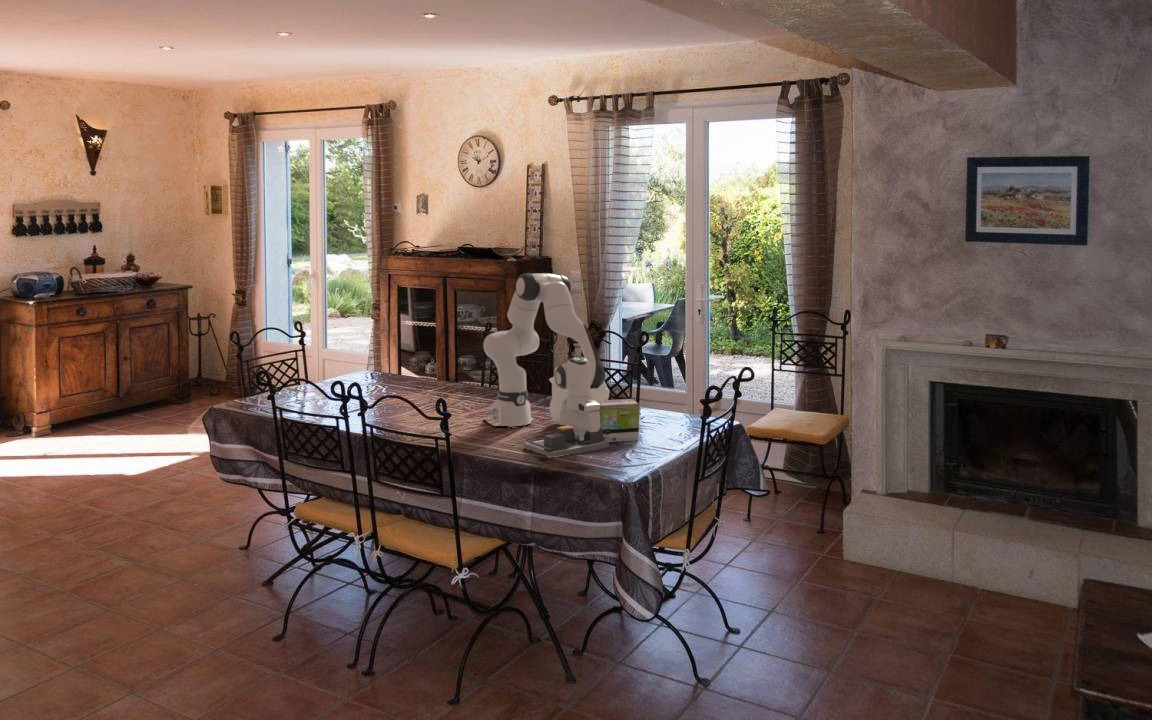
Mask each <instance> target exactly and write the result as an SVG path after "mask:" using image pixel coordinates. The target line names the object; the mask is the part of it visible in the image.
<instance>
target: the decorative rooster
mask: <svg viewBox="0 0 1152 720" xmlns="http://www.w3.org/2000/svg"><path fill="white" fill-rule="evenodd" d="M558 367H559V366H556V367H555V368H554V375H553V376H552V377H550V378H549V379H548V380H549V382H550V383H551V395H552V396H551V400H550V403H549V415H550V417H551V419H552V420H553V422H554V423H555V424H557V425H558V426H567V425H566V424H562V423H561V421H560V411H561V406H562V402H563V400H564V399H567V391H568V390H565V389H561V388H560V387H559V386H558V385H557V384H556V381H555V371H556V369H557V368H558ZM605 381H606V380H605ZM605 381H604V382H603V384H602V385H601V386H600V387H599V388H597V389H590V391H591V397H592V398H593V399H594V400H595V401H605V400H609V397H610V389H609V388H608V387H607V384H606V382H605Z"/></svg>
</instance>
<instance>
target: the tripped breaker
mask: <svg viewBox="0 0 1152 720" xmlns="http://www.w3.org/2000/svg"><path fill="white" fill-rule="evenodd" d="M554 430H555V434H556V433H559V434H562V435H565V436H566V443H569V444H571V445H573V444H578V443H582V442H579V441H577V439H575V433H574V430H573V427H572V426H569V425H561V426H558V427H555V429H554Z"/></svg>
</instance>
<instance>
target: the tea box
mask: <svg viewBox="0 0 1152 720" xmlns="http://www.w3.org/2000/svg"><path fill="white" fill-rule="evenodd" d="M596 402H597V403H599V404H600V409H599V410H598V411H599V414H600V428H602V429H603V437H605V440H604V441H607V442H609V443H616V442H617V443H618V442H638V441H639V439H640V403H638V402H637V401H636V400H634V399H632V398H627V399H626V398H625V399H611V400H609V399H608V400H605V401H596Z"/></svg>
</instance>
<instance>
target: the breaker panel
mask: <svg viewBox="0 0 1152 720" xmlns="http://www.w3.org/2000/svg"><path fill="white" fill-rule="evenodd" d="M604 440H605V437H603V429H602V428H600V429H599V431H597V432H588V431H586V432H585V434H584V440H582V441H580V440H577V441H579V442H582V443H578V444H573V445H571V444H569V443H566V436H565V435H562V434H559V433H556V432H555V433H552V434H546V435H544V436H543V437H542V439H541V440H535V441H533V440H530V439H527V440H526V443H523V448H524V447H526V448H529V449H532V450H534V451H537V452H540V453H543V454H545V455H548V456H550V457H552V456H559V455H566V454H573V453H578V454H580V453H579V452H583V453H586V452H585V451H588V452H592V451H591V450H593V451H597V450H596V449H598V450H602V449H607V448H609V447H610V442H607V441H604ZM573 455H574V454H573Z"/></svg>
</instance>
